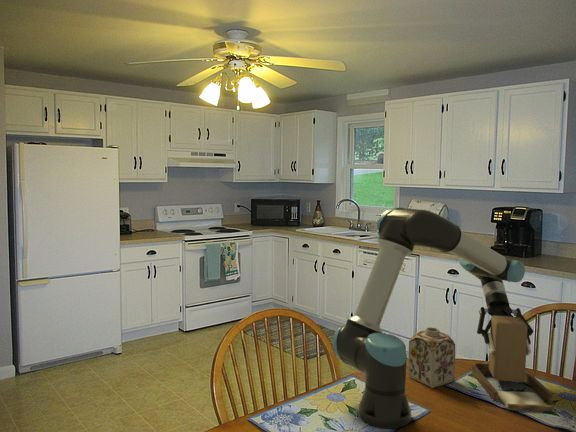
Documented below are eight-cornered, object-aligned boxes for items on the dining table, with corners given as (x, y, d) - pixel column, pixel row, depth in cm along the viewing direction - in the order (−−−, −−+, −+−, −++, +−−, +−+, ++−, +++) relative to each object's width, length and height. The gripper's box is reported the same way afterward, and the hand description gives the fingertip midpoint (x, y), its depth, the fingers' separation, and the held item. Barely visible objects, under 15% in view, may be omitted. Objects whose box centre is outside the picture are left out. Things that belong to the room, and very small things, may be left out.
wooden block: (518, 372, 169) (521, 316, 168) (525, 383, 160) (528, 324, 158) (488, 369, 172) (490, 314, 170) (493, 380, 162) (495, 322, 161)
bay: (500, 409, 147) (500, 397, 147) (471, 372, 175) (471, 362, 175) (561, 411, 146) (561, 399, 146) (522, 374, 174) (522, 363, 174)
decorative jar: (429, 370, 177) (431, 322, 176) (455, 381, 168) (457, 331, 166) (406, 376, 171) (407, 327, 170) (431, 389, 161) (433, 336, 160)
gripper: (525, 303, 179) (542, 359, 164) (460, 301, 180) (472, 356, 166) (532, 292, 173) (550, 349, 159) (465, 290, 174) (477, 346, 160)
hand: (510, 353), depth 162 cm, fingers closed on wooden block, 11 cm apart
